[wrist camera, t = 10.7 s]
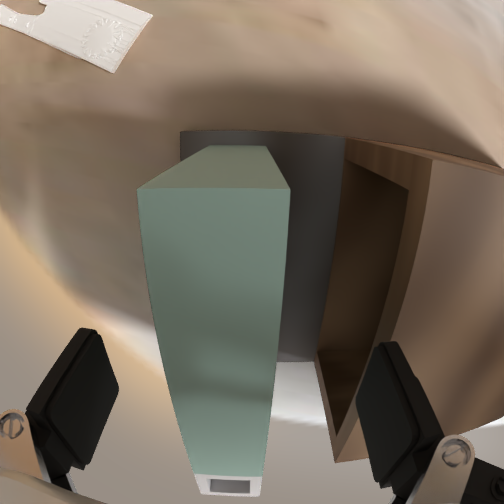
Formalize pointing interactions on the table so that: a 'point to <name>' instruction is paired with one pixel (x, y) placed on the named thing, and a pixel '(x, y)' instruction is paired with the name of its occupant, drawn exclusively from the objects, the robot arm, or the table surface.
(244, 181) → the green and grey box
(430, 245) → the cabinet
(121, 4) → the white plastic blade
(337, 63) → the table surface
